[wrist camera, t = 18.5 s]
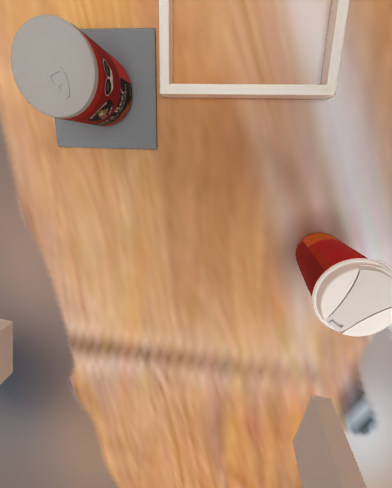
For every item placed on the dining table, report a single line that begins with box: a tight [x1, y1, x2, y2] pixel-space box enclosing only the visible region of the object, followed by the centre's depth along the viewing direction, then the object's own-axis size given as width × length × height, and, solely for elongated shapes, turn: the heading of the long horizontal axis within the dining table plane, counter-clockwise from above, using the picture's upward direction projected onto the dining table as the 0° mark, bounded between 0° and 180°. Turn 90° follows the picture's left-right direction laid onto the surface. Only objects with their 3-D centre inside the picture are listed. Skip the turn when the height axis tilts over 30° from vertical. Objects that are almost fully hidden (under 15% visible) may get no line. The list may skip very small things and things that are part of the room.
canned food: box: [11, 15, 132, 127], centre depth 31 cm, size 8×8×11 cm
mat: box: [55, 28, 157, 149], centre depth 36 cm, size 13×13×1 cm
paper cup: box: [296, 233, 392, 336], centre depth 33 cm, size 8×8×14 cm
